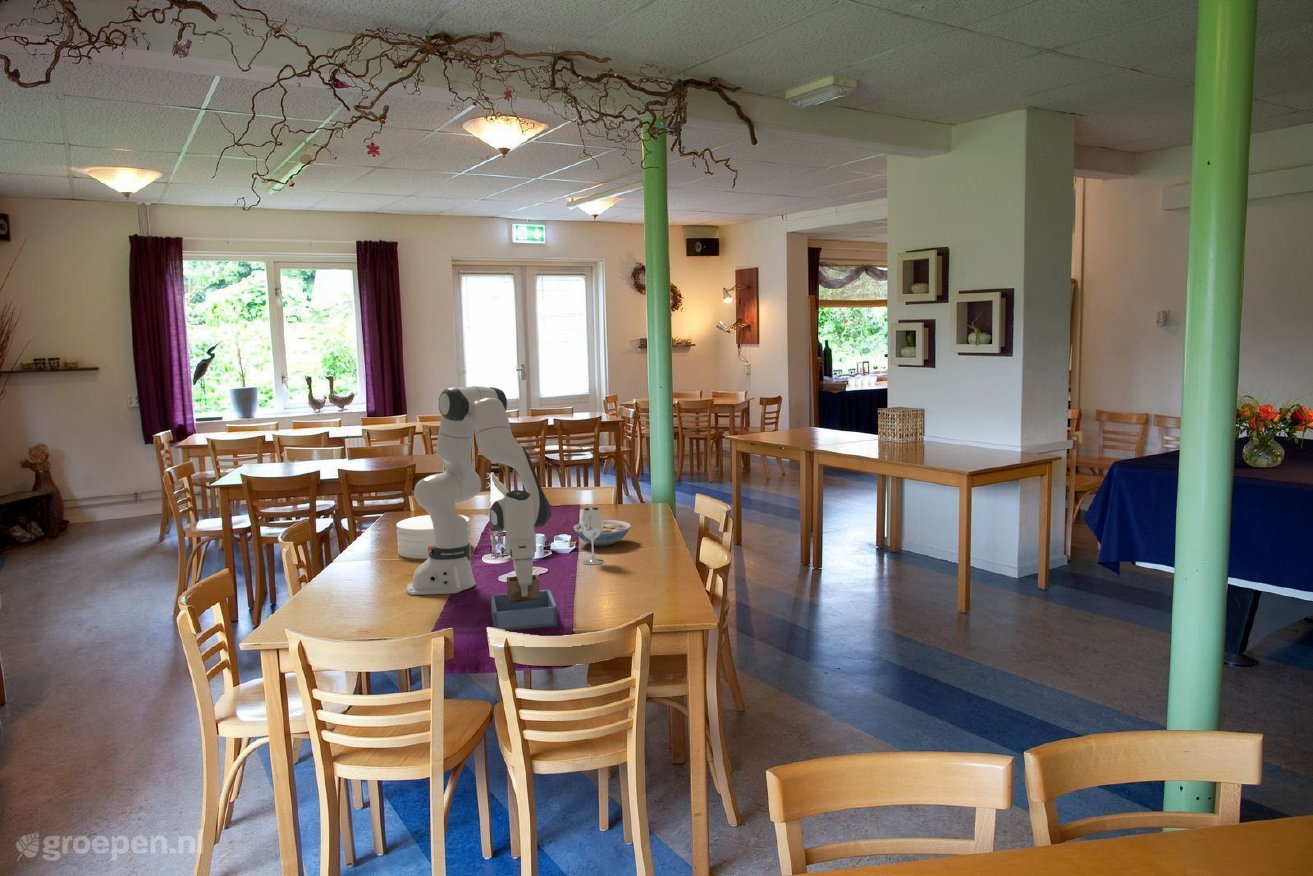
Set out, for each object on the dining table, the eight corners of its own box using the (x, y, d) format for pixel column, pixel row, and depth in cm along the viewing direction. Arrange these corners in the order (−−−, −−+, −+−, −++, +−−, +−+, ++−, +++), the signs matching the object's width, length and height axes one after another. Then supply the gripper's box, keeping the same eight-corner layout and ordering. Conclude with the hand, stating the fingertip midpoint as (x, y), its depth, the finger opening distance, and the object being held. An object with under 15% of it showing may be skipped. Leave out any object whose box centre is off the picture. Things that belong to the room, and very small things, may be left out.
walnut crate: (509, 602, 253) (507, 582, 252) (507, 596, 259) (506, 577, 258) (539, 599, 255) (539, 579, 254) (537, 593, 261) (536, 574, 260)
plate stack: (479, 541, 358) (478, 513, 357) (457, 558, 330) (456, 529, 329) (414, 541, 361) (412, 514, 360) (386, 558, 333) (384, 529, 332)
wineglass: (604, 559, 324) (602, 506, 321) (603, 564, 316) (601, 510, 314) (583, 559, 323) (581, 507, 321) (582, 565, 316) (580, 511, 313)
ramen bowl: (629, 551, 334) (629, 530, 333) (570, 552, 334) (569, 532, 333) (632, 536, 359) (632, 516, 358) (577, 537, 359) (576, 518, 358)
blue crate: (494, 632, 247) (493, 613, 246) (491, 612, 265) (490, 595, 264) (557, 625, 251) (556, 607, 250) (550, 607, 269) (549, 589, 268)
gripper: (507, 539, 265) (510, 583, 266) (512, 555, 245) (515, 603, 246) (528, 537, 266) (530, 581, 268) (535, 553, 246) (537, 600, 248)
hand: (523, 592), depth 257 cm, fingers closed on walnut crate, 6 cm apart
